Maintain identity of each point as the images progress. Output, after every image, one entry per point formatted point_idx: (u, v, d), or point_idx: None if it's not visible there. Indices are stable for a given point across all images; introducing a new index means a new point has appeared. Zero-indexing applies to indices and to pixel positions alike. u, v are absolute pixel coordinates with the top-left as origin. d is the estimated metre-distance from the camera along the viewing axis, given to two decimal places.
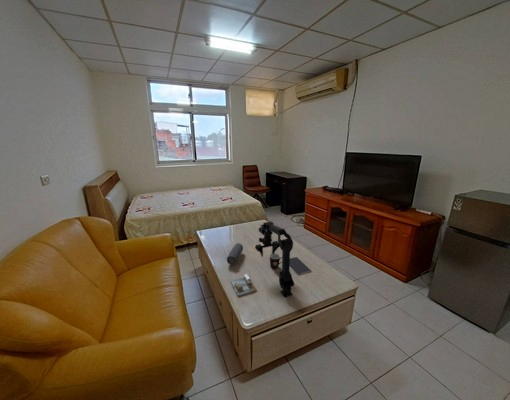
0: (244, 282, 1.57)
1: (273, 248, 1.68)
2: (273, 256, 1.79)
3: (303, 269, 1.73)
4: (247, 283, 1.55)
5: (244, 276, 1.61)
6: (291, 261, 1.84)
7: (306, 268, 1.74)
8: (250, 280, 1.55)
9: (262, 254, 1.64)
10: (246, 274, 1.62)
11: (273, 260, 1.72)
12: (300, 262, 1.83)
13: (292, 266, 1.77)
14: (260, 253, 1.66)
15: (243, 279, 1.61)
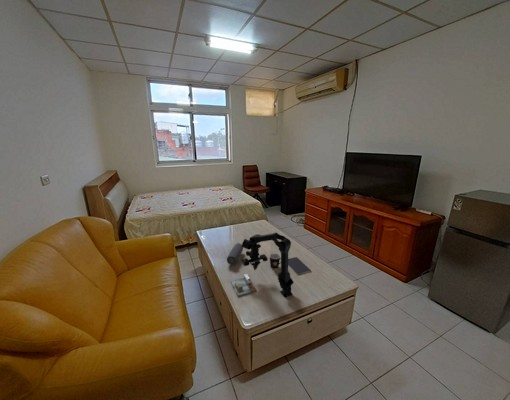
0: (244, 282, 1.57)
1: (255, 263, 1.61)
2: (273, 256, 1.79)
3: (303, 269, 1.73)
4: (247, 283, 1.55)
5: (244, 276, 1.61)
6: (291, 261, 1.84)
7: (306, 268, 1.74)
8: (250, 280, 1.55)
9: (254, 267, 1.60)
10: (246, 274, 1.62)
11: (273, 260, 1.72)
12: (300, 262, 1.83)
13: (292, 266, 1.77)
14: None
15: (243, 279, 1.61)
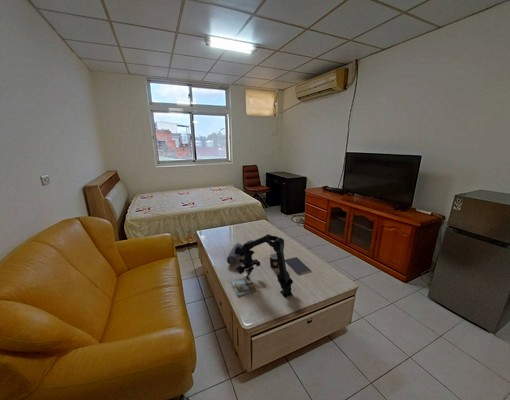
0: (244, 282, 1.57)
1: None
2: (273, 256, 1.79)
3: (303, 269, 1.73)
4: (247, 283, 1.55)
5: (244, 276, 1.61)
6: (291, 261, 1.84)
7: (306, 268, 1.74)
8: (250, 280, 1.55)
9: (249, 273, 1.60)
10: (246, 274, 1.62)
11: (273, 260, 1.72)
12: (300, 262, 1.83)
13: (292, 266, 1.77)
14: (246, 272, 1.62)
15: (243, 279, 1.61)
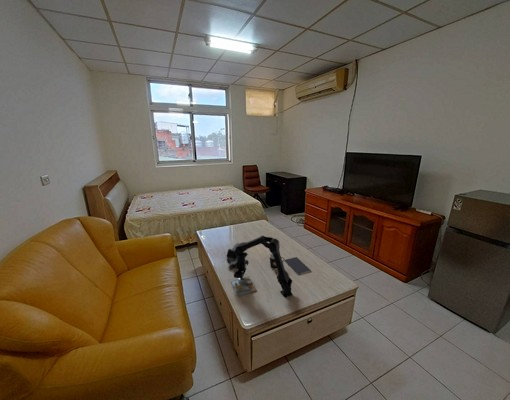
0: None
1: None
2: (273, 256, 1.79)
3: (303, 269, 1.73)
4: (248, 284, 1.54)
5: (240, 280, 1.57)
6: (291, 261, 1.84)
7: (306, 268, 1.74)
8: (250, 279, 1.56)
9: (243, 275, 1.58)
10: None
11: (273, 260, 1.72)
12: (300, 262, 1.82)
13: (292, 266, 1.77)
14: None
15: None
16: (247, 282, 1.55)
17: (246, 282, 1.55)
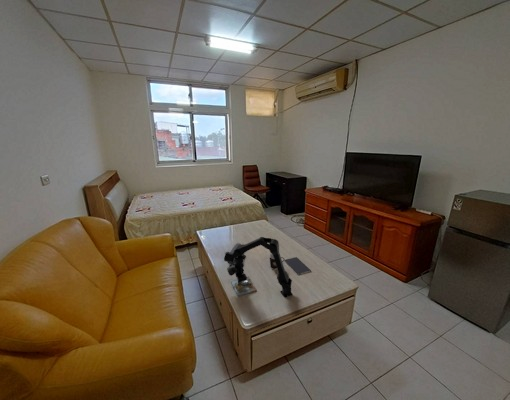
0: None
1: None
2: (273, 256, 1.79)
3: (303, 269, 1.73)
4: (250, 283, 1.54)
5: (240, 283, 1.53)
6: (291, 261, 1.84)
7: (306, 268, 1.74)
8: (250, 279, 1.56)
9: None
10: None
11: (273, 260, 1.72)
12: (300, 262, 1.82)
13: (292, 266, 1.77)
14: None
15: None
16: (248, 282, 1.54)
17: (247, 283, 1.54)
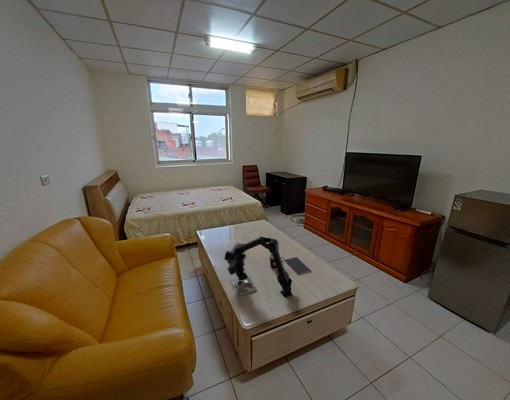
0: None
1: None
2: None
3: (303, 269, 1.73)
4: (250, 283, 1.55)
5: (240, 284, 1.52)
6: (291, 261, 1.84)
7: (306, 268, 1.74)
8: (249, 279, 1.56)
9: None
10: (239, 282, 1.54)
11: (273, 260, 1.72)
12: (300, 262, 1.82)
13: (292, 266, 1.77)
14: None
15: None
16: (248, 283, 1.54)
17: (247, 283, 1.54)
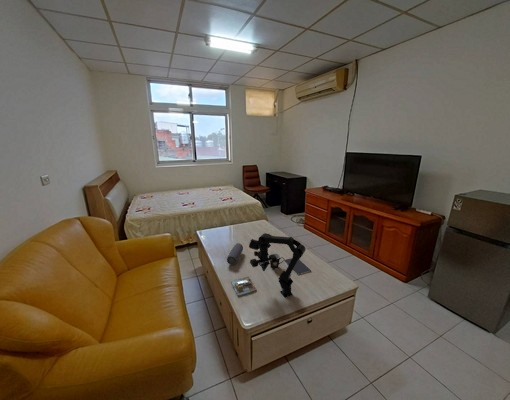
0: None
1: (264, 264, 1.51)
2: None
3: (303, 269, 1.73)
4: (250, 283, 1.55)
5: (240, 284, 1.52)
6: None
7: (306, 268, 1.74)
8: (249, 279, 1.56)
9: (263, 268, 1.50)
10: (239, 282, 1.54)
11: None
12: (300, 262, 1.82)
13: None
14: None
15: (243, 279, 1.61)
16: (248, 283, 1.54)
17: (247, 283, 1.54)
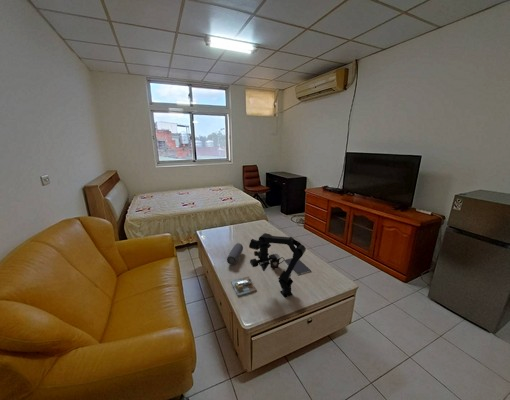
0: None
1: (264, 264, 1.51)
2: None
3: (303, 269, 1.73)
4: (250, 283, 1.55)
5: (240, 284, 1.52)
6: None
7: (306, 268, 1.74)
8: (249, 279, 1.56)
9: (263, 268, 1.50)
10: (239, 282, 1.54)
11: None
12: (300, 262, 1.82)
13: None
14: None
15: (243, 279, 1.61)
16: (248, 283, 1.54)
17: (247, 283, 1.54)
